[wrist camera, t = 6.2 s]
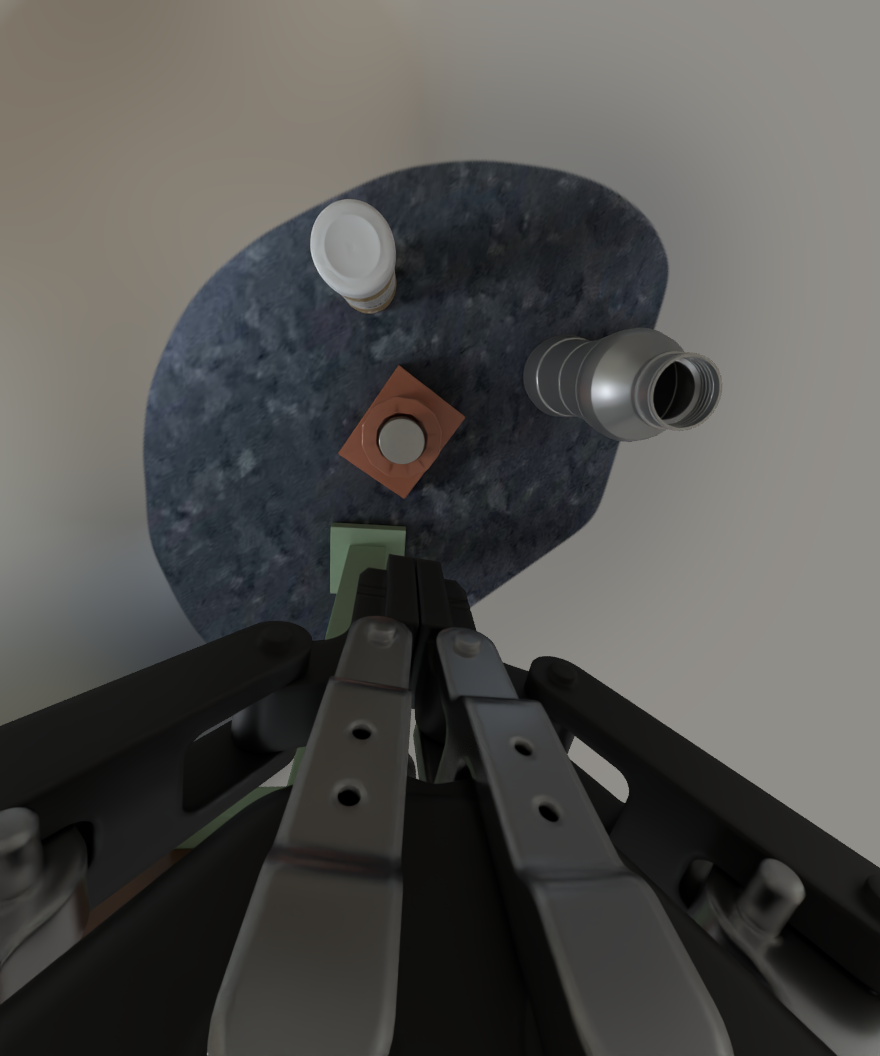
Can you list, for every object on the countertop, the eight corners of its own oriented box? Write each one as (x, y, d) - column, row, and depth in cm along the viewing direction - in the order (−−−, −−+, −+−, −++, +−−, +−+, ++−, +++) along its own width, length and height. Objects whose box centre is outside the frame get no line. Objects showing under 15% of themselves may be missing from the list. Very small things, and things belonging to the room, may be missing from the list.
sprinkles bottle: (386, 244, 36) (380, 185, 24) (403, 306, 38) (405, 282, 25) (331, 260, 36) (295, 210, 24) (350, 321, 38) (326, 305, 25)
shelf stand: (311, 586, 46) (181, 932, 18) (311, 521, 44) (160, 805, 16) (420, 591, 47) (452, 921, 20) (426, 527, 45) (470, 802, 17)
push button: (406, 468, 39) (407, 473, 37) (371, 443, 38) (370, 446, 36) (432, 433, 38) (433, 437, 36) (396, 407, 37) (396, 409, 35)
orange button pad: (404, 492, 43) (404, 505, 40) (340, 448, 41) (335, 458, 38) (462, 414, 41) (468, 420, 37) (398, 364, 39) (398, 365, 36)
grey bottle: (554, 318, 39) (697, 283, 20) (605, 373, 41) (777, 388, 22) (501, 377, 40) (591, 396, 22) (553, 428, 42) (675, 486, 24)
